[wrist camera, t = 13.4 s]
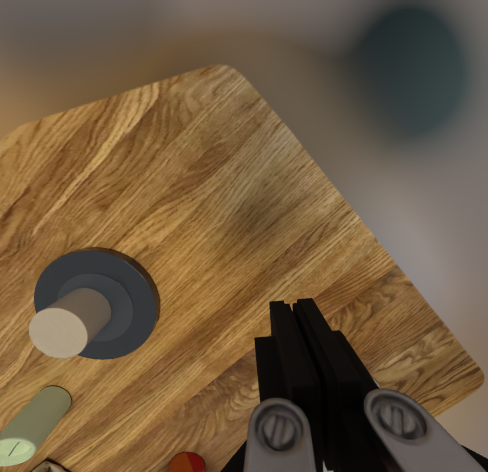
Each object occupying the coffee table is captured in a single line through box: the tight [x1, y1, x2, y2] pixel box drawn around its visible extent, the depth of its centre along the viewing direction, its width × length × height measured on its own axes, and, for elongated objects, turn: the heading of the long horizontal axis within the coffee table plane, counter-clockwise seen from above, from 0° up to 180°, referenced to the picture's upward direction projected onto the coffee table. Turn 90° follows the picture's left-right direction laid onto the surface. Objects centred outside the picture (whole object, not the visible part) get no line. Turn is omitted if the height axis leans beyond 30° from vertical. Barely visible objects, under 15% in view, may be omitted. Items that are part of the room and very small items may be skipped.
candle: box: [0, 386, 71, 466], centre depth 32 cm, size 5×5×8 cm
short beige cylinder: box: [29, 288, 111, 358], centre depth 29 cm, size 6×6×5 cm
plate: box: [34, 248, 160, 360], centre depth 32 cm, size 16×16×2 cm
